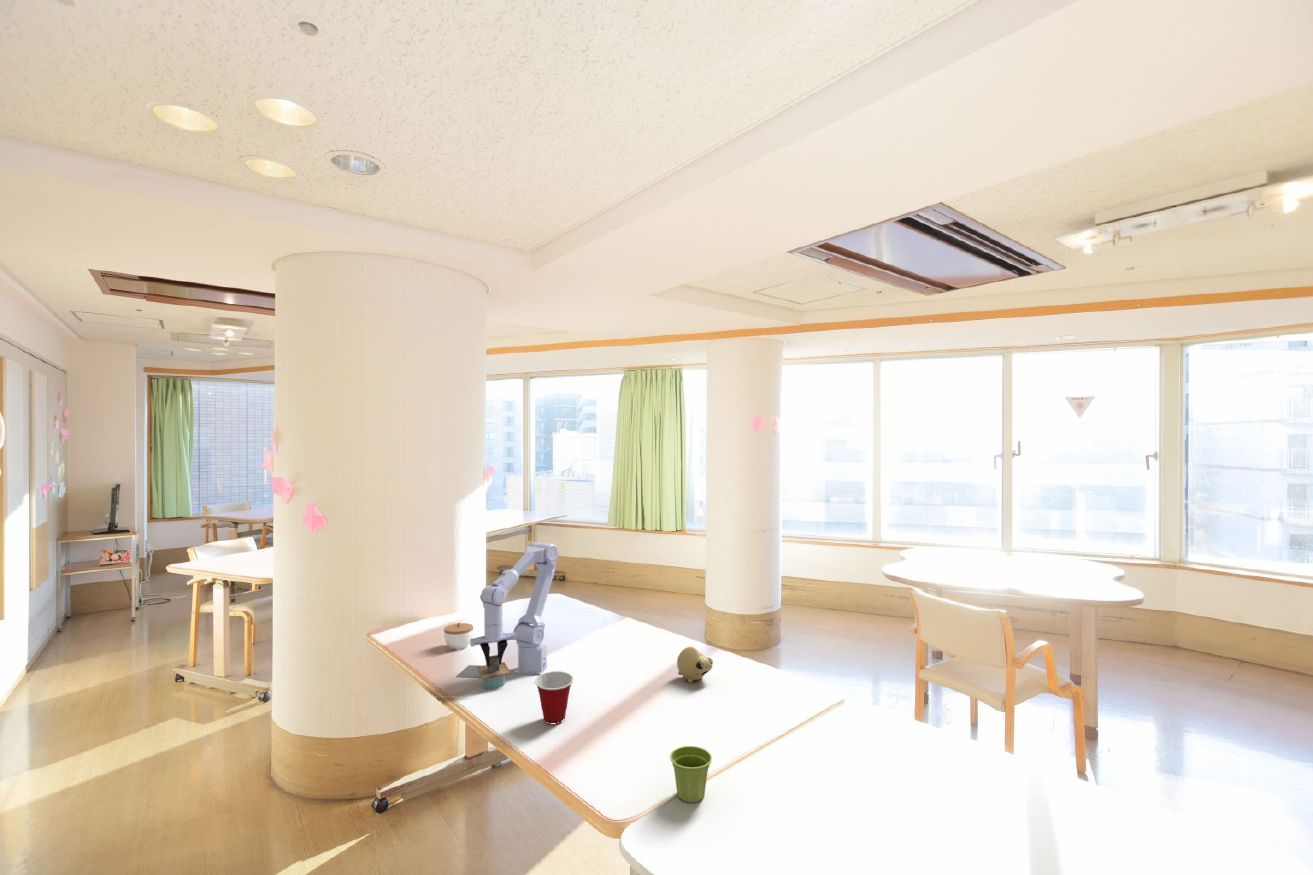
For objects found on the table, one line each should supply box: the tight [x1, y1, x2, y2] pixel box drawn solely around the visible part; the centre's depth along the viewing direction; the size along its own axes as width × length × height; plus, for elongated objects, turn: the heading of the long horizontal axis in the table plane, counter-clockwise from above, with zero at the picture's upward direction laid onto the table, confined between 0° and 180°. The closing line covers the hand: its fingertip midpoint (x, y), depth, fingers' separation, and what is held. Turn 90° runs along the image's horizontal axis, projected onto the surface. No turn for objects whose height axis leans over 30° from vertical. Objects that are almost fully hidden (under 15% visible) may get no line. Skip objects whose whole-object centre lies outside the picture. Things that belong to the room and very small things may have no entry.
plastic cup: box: [534, 670, 574, 723], centre depth 171 cm, size 11×11×12 cm
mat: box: [455, 664, 482, 679], centre depth 208 cm, size 11×11×1 cm
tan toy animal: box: [676, 646, 714, 683], centre depth 200 cm, size 10×12×11 cm
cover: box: [477, 654, 511, 680], centre depth 197 cm, size 9×9×5 cm
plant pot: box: [669, 745, 713, 803], centre depth 135 cm, size 9×9×9 cm
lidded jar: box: [443, 622, 474, 650], centre depth 234 cm, size 11×11×9 cm
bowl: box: [481, 675, 506, 690], centre depth 197 cm, size 7×7×4 cm
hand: (493, 664), depth 197 cm, fingers closed on cover, 3 cm apart
